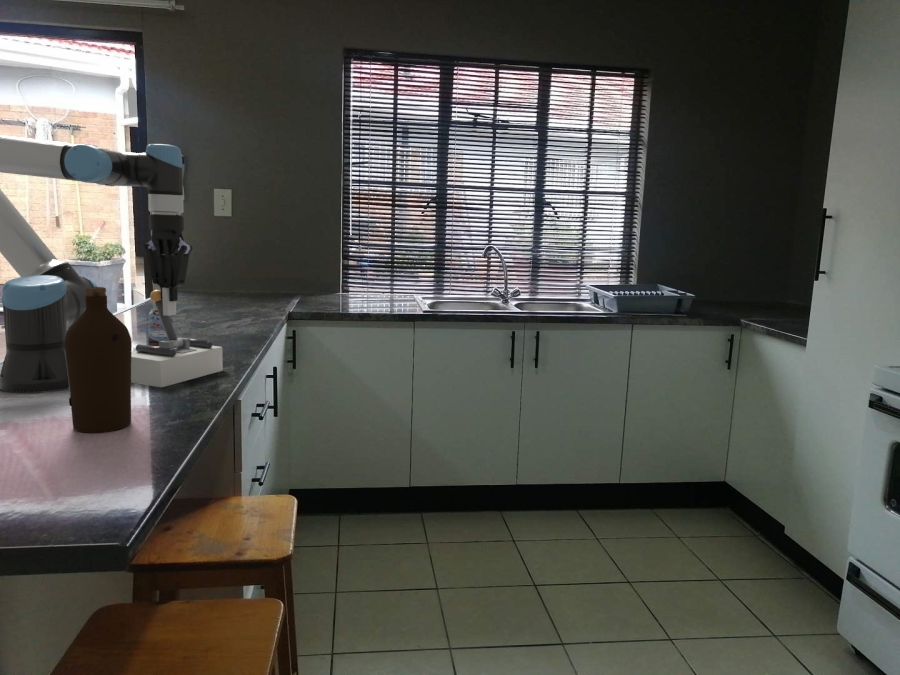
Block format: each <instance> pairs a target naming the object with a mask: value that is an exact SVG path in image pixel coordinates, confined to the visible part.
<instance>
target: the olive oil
mask: <svg viewBox="0 0 900 675" xmlns="http://www.w3.org/2000/svg"><path fill="white" fill-rule="evenodd" d="M106 293H107V288H106V287H104V286H98V287H88V288H86V296H85V300H86V310H85V311H84V312H83V314H82V315H81V316H80V317H79V318H78V319H77V320H76V321H75V322H74V323H73V324H72V325H71V326H70V327H69V329H68V330H67V333H66V336H65V340H64V350H65V358H66V366H67V374H68V383H69V387H68V391H69V398H68V403H69V406H70V407H71V408H70V409H71V418H72V427H73V429H74V430H75V431H77V432H79V431H80V432H81V433H86V434H87V433H89V434H96V433H107V432H108V433H109V432H114V431H119V430H122V429H124V428H126V427H129V425H131V423H132V383H131V352H132V351H133V350H132V346H133V344H132V343H133V342H132V337H131V334H130V332H129V329H128V327H127V326H126V325H125V324H124V322H122V321H121V320H120V319H119V318H117V316H115V314H113V313H112V312H111V311H110V309H109V308H108V295H107V294H106Z"/></svg>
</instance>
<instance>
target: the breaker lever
mask: <svg viewBox="0 0 900 675" xmlns="http://www.w3.org/2000/svg"><path fill="white" fill-rule="evenodd" d="M149 298H150V300H151V302H153V303H154V304H155V307H156V309H157V310H158V313H159V315H160V318H161V321H162V324H163V327H164V329H165V332H166V335H167V338H168V340H169V341H168V342H173V348H177V347H182V346H183V340H182V339H177V337H178V336H177V334H176V331H175V328H174V326H173V321H172V322H171V319H170V317H169V316H166V315H163V301H162V300H161V289H155V290H152V291H151V292H150V295H149Z"/></svg>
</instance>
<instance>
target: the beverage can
mask: <svg viewBox="0 0 900 675" xmlns="http://www.w3.org/2000/svg"><path fill="white" fill-rule="evenodd" d="M169 317H170V319H171V322H172V323H173V315H169ZM159 341H169V340H168V338H167V335H166V332H165V329H164V327H163V324H162V321H161V318H160V315H159V313H158V310H157V308H151V309H150V311H149V313H148V344H147V345H149V346H156V347H157V346H159Z"/></svg>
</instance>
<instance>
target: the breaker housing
mask: <svg viewBox="0 0 900 675" xmlns="http://www.w3.org/2000/svg"><path fill="white" fill-rule="evenodd" d="M177 339H182V340H183V346H182V347H177V348H173V342H168V341H159V346H157V347H156V346H149V345H148V344H140V343H139V344H137V345H136V346H135V350H131V384H137V385H143V386H150V387H155V388H165V387H169V386H172V385H175V384H179V383H183V382H186V381H189V380H193V379H197V378H200V377H201V378H202V377H204V376H207V375H212V374H215V373H219V372H223V371H224V370H223V369H224V368H223V360H224V359H223V346H219V345H218V346H217V345H213V344H214V343H213V341H211V340H205V339H197V338H189V337H183V336H182V337H180V336H177Z"/></svg>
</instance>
